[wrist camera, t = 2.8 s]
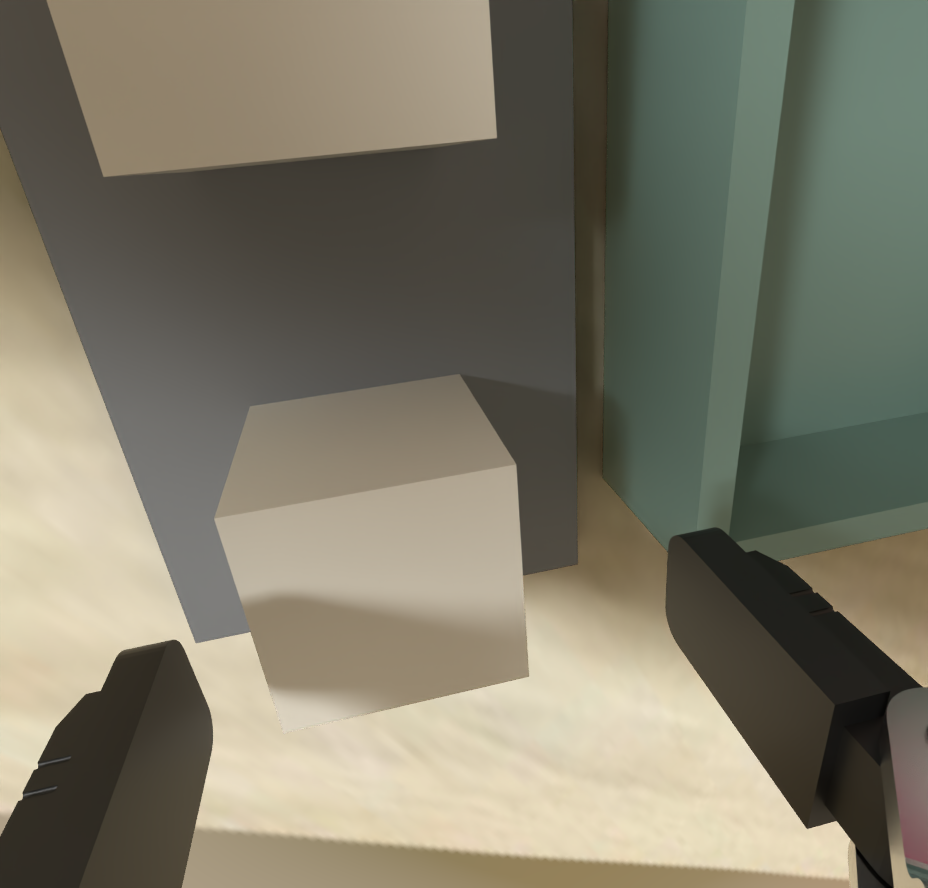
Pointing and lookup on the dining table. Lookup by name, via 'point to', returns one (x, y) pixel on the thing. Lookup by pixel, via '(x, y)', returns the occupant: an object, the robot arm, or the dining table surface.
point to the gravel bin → (768, 269)
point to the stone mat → (315, 286)
